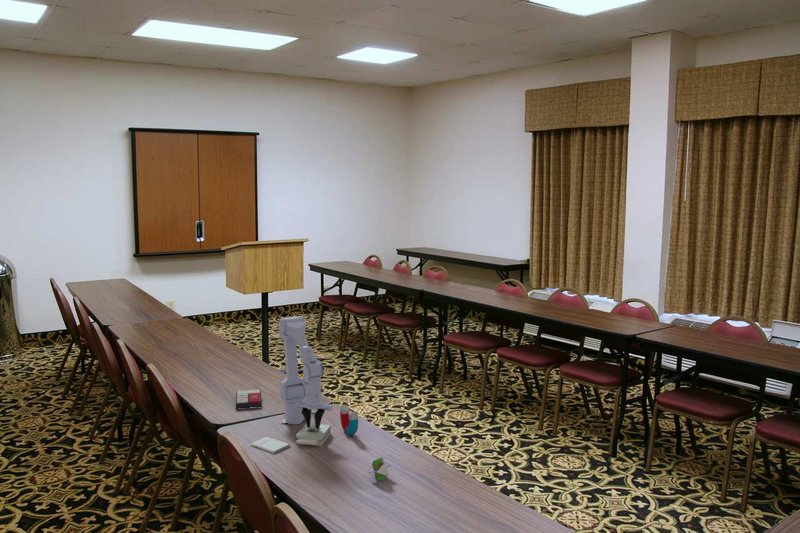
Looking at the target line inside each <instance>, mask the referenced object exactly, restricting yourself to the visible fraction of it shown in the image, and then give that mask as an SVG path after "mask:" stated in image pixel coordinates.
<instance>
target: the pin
mask: <svg viewBox="0 0 800 533" xmlns="http://www.w3.org/2000/svg"><path fill="white" fill-rule="evenodd" d="M316 411H317V410H311V412H310V432H316V433H318V428H317V427H316V422H317V420H316Z"/></svg>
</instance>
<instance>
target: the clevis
mask: <svg viewBox="0 0 800 533" xmlns="http://www.w3.org/2000/svg"><path fill="white" fill-rule="evenodd" d="M331 427H332V426H331V424H323V423H320V427H319V428H318V433H316V432H310V427H309V428H307V423H306V422H305V424H304V425H303V427H301V429H300V430H299V431H298V432H297V433H296V434H295V438H296V439H297V440H296V441H295V444H296V445H303V446H305V445H306V446H316V447H322V446H323V445H324V444H325V442H326V441H327V440H328V438H329V437H330V435H331V434H332V432H331V431H332V430H331Z"/></svg>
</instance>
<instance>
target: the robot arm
mask: <svg viewBox="0 0 800 533" xmlns="http://www.w3.org/2000/svg"><path fill="white" fill-rule="evenodd" d="M306 328H307V322H306V319H305V317H304V316H303V315H300V316H299V315H298V316H291V317H281V318H280V319H279V321H278V334H279V338H282V339H283V348H284V349H283V350H284V361H285V362H284V363H285V371H286V372H285V374H286V377H285V378H284V379H283V380H282V381H281V382H280V389H279V396H280V399H281V400H282V401H283V402H284V419H283V420H282V421H281V422H280V423H281V424H285V423H288V424H289V425H297V424H299V425H301V424H302V423H303V422H304V421H305V424H306V423H307V428H309V427H310V412H311V411H313V410H315V411H316V420H317V422H316V427H317V428H319V427H320V424H322V423H321V422H322V419H323V416H324V413H325V411H327V412H333V411H332V410H333V404H329V403H324V402H322V387H321V386H322V382H321V381H322V380H321V379H322V378H321V377H323V375H324V366H323V363H322V362H321V361H320V360H319V359H317V356H316V354H315V352H314V349H313V347H312V346H309V343H308V339H307V337H306V334H305V331H306ZM297 346H298V348H299V351H298V354H297ZM298 355H299V356H298ZM298 357H299V358H300V361H301V363H302V366H303V368H302V373H303V377H304V378H301V377H300V376H299V368H298V367H299V366H298V364H299V363H298ZM300 423H301V424H300ZM288 424H287V425H288Z"/></svg>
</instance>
